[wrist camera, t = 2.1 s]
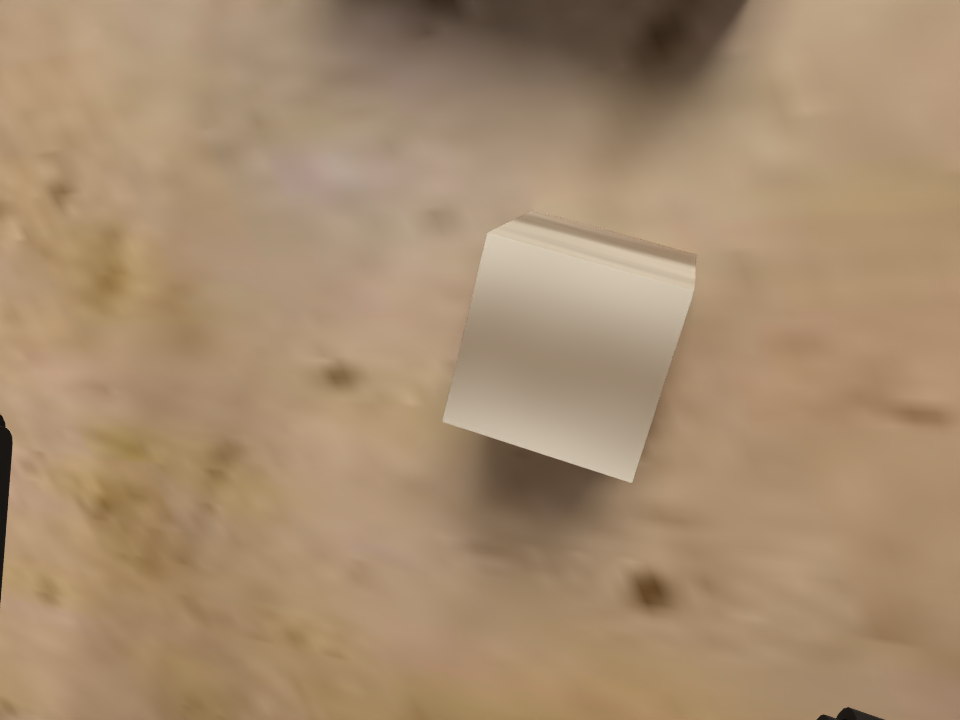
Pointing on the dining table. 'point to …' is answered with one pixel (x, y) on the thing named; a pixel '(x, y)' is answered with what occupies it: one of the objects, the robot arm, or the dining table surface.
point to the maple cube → (570, 340)
